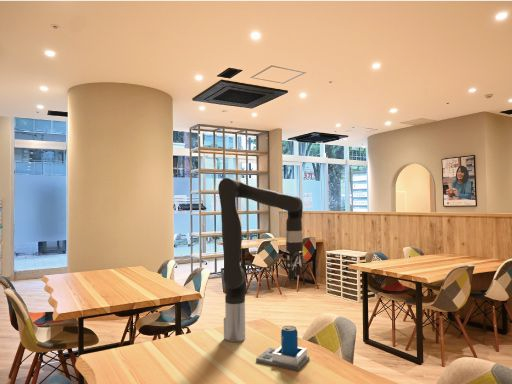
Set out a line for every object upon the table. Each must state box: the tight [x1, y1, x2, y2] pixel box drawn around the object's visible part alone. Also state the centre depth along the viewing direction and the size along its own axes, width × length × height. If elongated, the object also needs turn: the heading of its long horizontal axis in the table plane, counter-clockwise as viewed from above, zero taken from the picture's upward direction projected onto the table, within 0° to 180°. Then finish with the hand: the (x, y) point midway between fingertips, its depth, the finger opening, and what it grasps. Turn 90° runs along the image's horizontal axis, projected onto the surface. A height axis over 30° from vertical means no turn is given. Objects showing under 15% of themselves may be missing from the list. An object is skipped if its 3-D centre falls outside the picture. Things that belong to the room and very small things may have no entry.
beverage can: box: [280, 325, 299, 356], centre depth 149 cm, size 6×6×12 cm
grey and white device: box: [255, 345, 310, 372], centre depth 150 cm, size 18×12×4 cm, turn 61°
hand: (294, 276), depth 168 cm, fingers open, 8 cm apart
